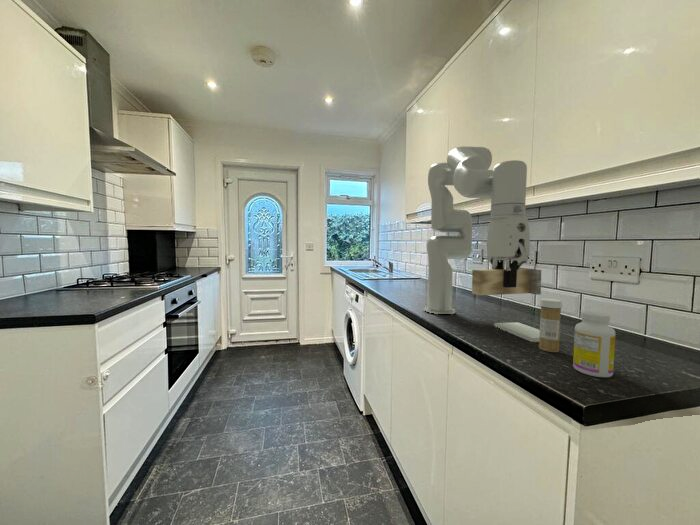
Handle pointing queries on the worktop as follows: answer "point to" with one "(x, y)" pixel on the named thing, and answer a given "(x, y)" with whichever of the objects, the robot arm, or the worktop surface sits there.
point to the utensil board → (520, 330)
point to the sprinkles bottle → (550, 324)
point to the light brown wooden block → (493, 282)
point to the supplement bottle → (594, 345)
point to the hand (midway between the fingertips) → (504, 285)
